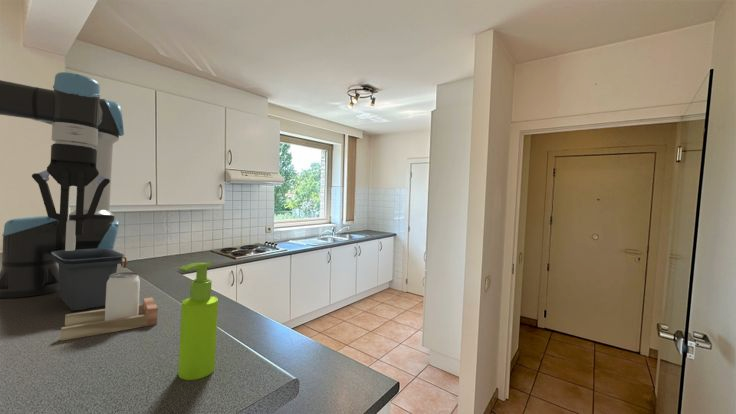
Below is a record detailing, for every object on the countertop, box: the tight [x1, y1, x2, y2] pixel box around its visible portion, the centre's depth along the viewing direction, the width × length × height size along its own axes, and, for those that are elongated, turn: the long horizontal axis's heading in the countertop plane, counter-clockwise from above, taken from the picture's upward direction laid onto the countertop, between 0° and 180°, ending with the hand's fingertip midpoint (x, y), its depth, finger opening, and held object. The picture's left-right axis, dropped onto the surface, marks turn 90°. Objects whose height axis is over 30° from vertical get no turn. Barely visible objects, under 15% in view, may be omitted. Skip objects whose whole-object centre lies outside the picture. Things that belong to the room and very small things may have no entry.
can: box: [104, 271, 141, 321], centre depth 76 cm, size 6×6×12 cm
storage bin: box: [51, 248, 128, 311], centre depth 91 cm, size 21×16×14 cm
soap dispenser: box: [177, 261, 219, 381], centre depth 57 cm, size 6×7×20 cm
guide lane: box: [60, 296, 159, 342], centre depth 75 cm, size 10×17×4 cm, turn 130°
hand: (70, 249), depth 70 cm, fingers closed
